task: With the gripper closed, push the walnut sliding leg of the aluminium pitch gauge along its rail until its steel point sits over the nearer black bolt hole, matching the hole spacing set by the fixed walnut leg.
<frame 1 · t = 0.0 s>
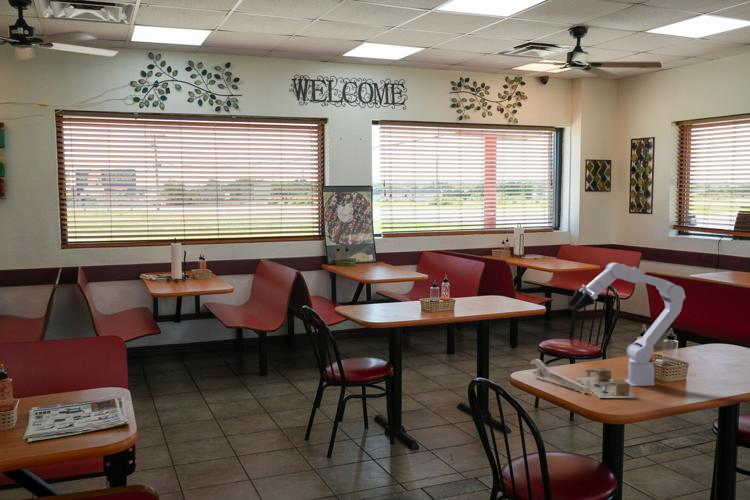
hand: (572, 306, 272), 32 cm above the table, tool tilted 50°, fingers open, 7 cm apart
gauge plate: (604, 388, 270), on the table
wrench: (558, 386, 275), on the table
slider: (596, 373, 280), point 3 cm above the table, slide at 0.0 cm
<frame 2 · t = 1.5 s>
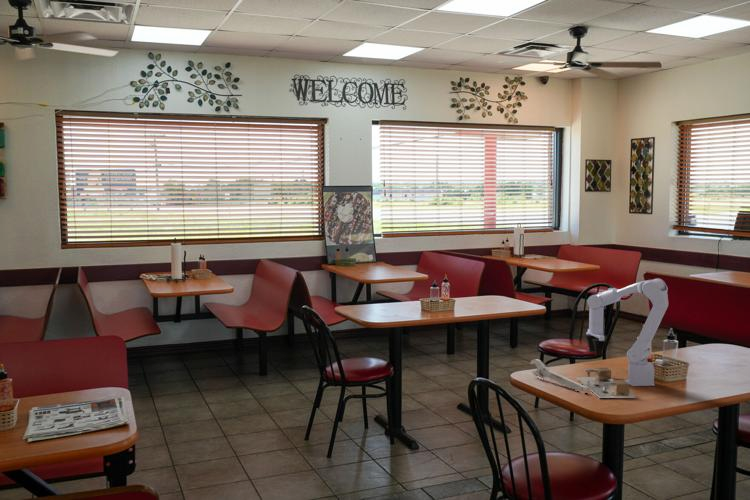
hand: (595, 353, 288), 9 cm above the table, tool pointing down, fingers open, 7 cm apart
nothing on the table moved.
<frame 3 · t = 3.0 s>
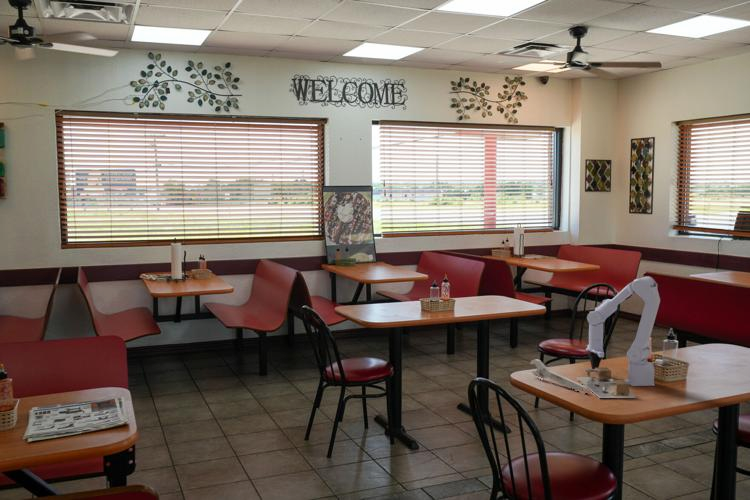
hand: (595, 369, 289), 2 cm above the table, tool pointing down, fingers closed
nothing on the table moved.
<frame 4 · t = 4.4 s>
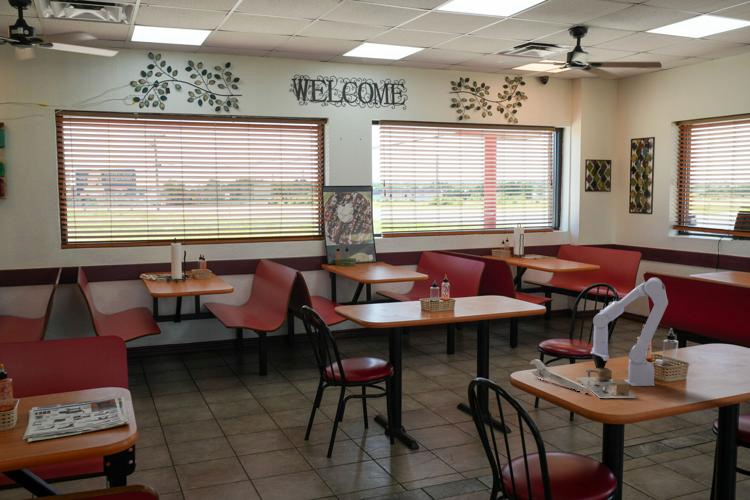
hand: (599, 373, 283), 2 cm above the table, tool pointing down, fingers closed
slider: (597, 373, 279), point 3 cm above the table, slide at 0.5 cm, touching gripper
everything else where it was.
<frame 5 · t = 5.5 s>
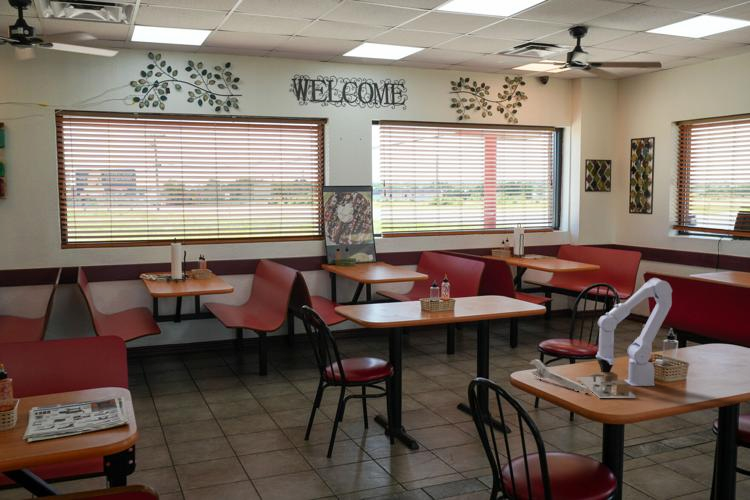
hand: (605, 377, 277), 2 cm above the table, tool pointing down, fingers closed
slider: (602, 378, 273), point 3 cm above the table, slide at 6.7 cm, touching gripper
everything else where it was.
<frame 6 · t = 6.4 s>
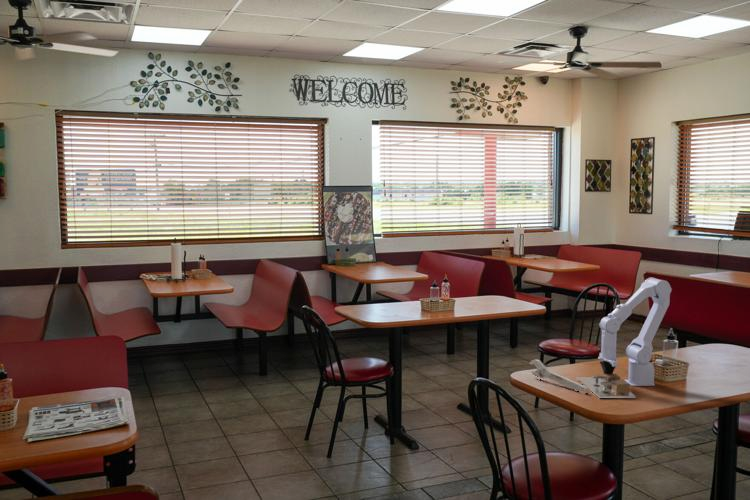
hand: (607, 379, 274), 2 cm above the table, tool pointing down, fingers closed
slider: (605, 380, 270), point 3 cm above the table, slide at 9.4 cm, touching gripper
everything else where it was.
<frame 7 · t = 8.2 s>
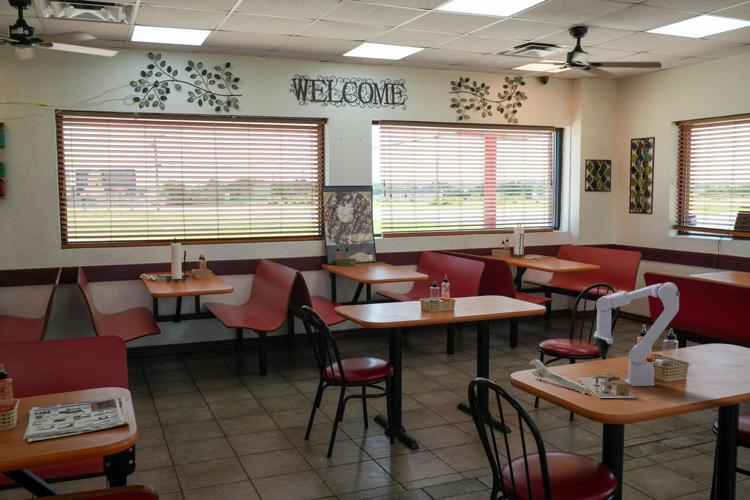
hand: (602, 356, 283), 9 cm above the table, tool pointing down, fingers closed
slider: (605, 380, 270), point 3 cm above the table, slide at 9.4 cm
everything else where it was.
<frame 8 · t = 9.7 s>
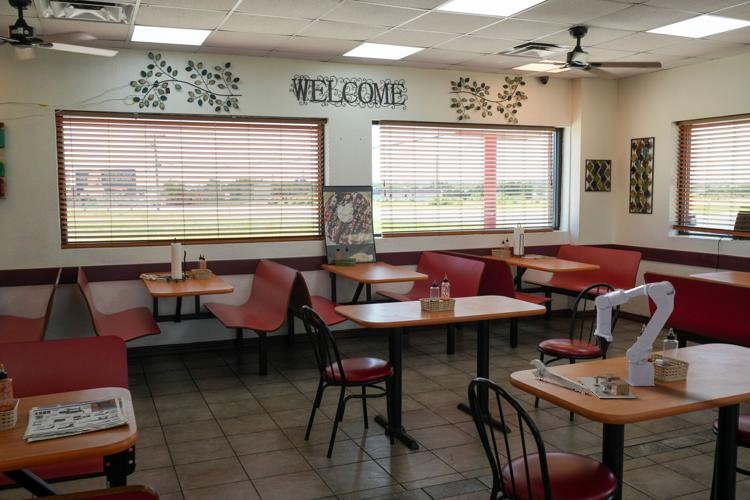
hand: (603, 354, 287), 9 cm above the table, tool pointing down, fingers closed
nothing on the table moved.
at the end: slider slide at 9.4 cm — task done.
